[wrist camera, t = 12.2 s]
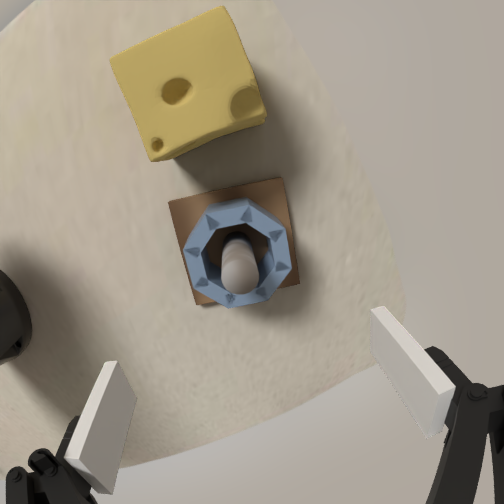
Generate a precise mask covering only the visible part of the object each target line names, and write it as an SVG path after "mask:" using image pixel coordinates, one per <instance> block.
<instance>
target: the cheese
mask: <svg viewBox="0 0 504 504" xmlns="http://www.w3.org/2000/svg"><path fill="white" fill-rule="evenodd" d="M110 64H111V67H112V70H113V72H114V75H115V77H116V80H117V82H118V84H119V86H120V88H121V91H122V93H123V95H124V97H125V99H126V101H127V104H128V106H129V108H130V110H131V113H132V115H133V117H134V120H135V122H136V125H137V127H138V130H139V133H140V135H141V138H142V141H143V144H144V147H145V149H146V152H147V154H148V157H149V159H150V161H151V162H159V161H164V160H170V159H172V158H175V157H177V156H179V155H181V154H184V153H186V152H188V151H190V150H192V149H194V148H196V147H199V146H201V145H203V144H205V143H207V142H209V141H211V140H213V139H215V138H218V137H221V136H223V135H226V134H230V133H233V132H236V131H239V130H242V129H245V128H249V127H253V126H257V125H261V124H263V123H264V122H265V119H264V118H265V117H266V116H267V112H266V109H265V106H264V104H263V101H262V99H261V95H260V92H259V88H258V85H257V81H256V78H255V75H254V72H253V70H252V67H251V65H250V62H249V60H248V58H247V55H246V53H245V50H244V48H243V45H242V43H241V40H240V37H239V35H238V32H237V30H236V27H235V25H234V23H233V21H232V19H231V17H230V15H229V13H228V12H227V10H226V8H225V7H224V6H219V7H216V8H214V9H212V10H209V11H207V12H205V13H203V14H201V15H199V16H196V17H194V18H192V19H190V20H188V21H186V22H184V23H182V24H180V25H177V26H175V27H173V28H170V29H168V30H166V31H164V32H161V33H159V34H157V35H155V36H153V37H151V38H149V39H147V40H145V41H142V42H140V43H139V44H136V45H134V46H132V47H130V48H128V49H126V50H124V51H123V52H121V53H119V54H117V55H115V56H113V57H111V58H110Z"/></svg>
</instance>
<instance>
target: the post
mask: <svg viewBox="0 0 504 504" xmlns="http://www.w3.org/2000/svg"><path fill="white" fill-rule="evenodd" d="M243 197H247V198H249V199H250V200H252V201H253V202H255V203H256V204H258V205H259V206H261V207H262V208H264V209H265V210H267V211H268V212H270V213H271V214H273V215H274V216H276V217H277V218H278V219H279V221H280V222H281V223H282V225H283V226H284V228H285V229H286V235H287V241H288V248H289V254H290V260H291V267H292V269H291V270H290V272H289V273H288V274H287V276H286V277H285V278H284V280H283V281H282V282H281V284H280V285H279V286H278V288H283V287H288V286H292V285H297V284H300V280H299V274H298V267H297V261H296V255H295V248H294V242H293V236H292V230H291V224H290V218H289V212H288V206H287V201H286V195H285V189H284V184H283V178H281V177H279V178H274V179H269V180H263V181H258V182H253V183H248V184H244V185H239V186H234V187H229V188H225V189H220V190H215V191H211V192H207V193H202V194H198V195H193V196H189V197H185V198H181V199H177V200H172V201H169V202H168V204H169V208H170V212H171V216H172V220H173V224H174V228H175V232H176V235H177V239H178V243H179V247H180V250H181V254H182V258H183V261H184V265H185V268H186V272H187V275H188V279H189V282H190V286H191V289H192V292H193V296H194V299H195V302H196V305H201V304H206V303H211V302H216V301H214V300H213V299H211V298H209V297H207V296H206V295H204V294H202V293H200V292H199V291H197V290H195V289H194V288H193V285H192V281H191V278H190V274H189V270H188V267H187V263H186V259H185V256H184V252H183V249H184V246H185V244H186V242H187V239H188V237H189V235H190V233H191V232H192V230H193V229H194V227H195V225H196V224H197V222H198V221H199V219H200V218H201V216H202V214H203V213H204V211H205V210H206V208H207V207H208V205H209V204H214V203H219V202H223V201H228V200H233V199H238V198H243ZM206 248H207V252H208V256H209V260H210V262H212V263H213V264H215V265H217V266H218V267H220V268H222V273H221V279H222V283H223V285H224V287H225V288H226V289H227V290H228V291H229V292H231V293H233V294H238V295H242V294H247V293H249V292H251V291H252V290H253V289H254V288H255V287H256V286H257V284H258V281H259V272H258V269H257V265H258V263H259V262H260V261H261V259H262V258H263V256H264V255H265V254H266V252H267V251H268V244H267V239H266V236H265V235H264V234H262V233H261V232H259V231H258V230H256V229H255V228H253V227H251V226H250V225H248V224H247V223H242V224H237V225H233V226H228V227H223V228H218V229H216V230H215V232H214V233H213V235H212V236H211V238H210V239H209V241H208V242H207V244H206ZM278 288H277V289H278Z"/></svg>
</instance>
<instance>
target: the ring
mask: <svg viewBox="0 0 504 504" xmlns="http://www.w3.org/2000/svg"><path fill="white" fill-rule="evenodd" d="M242 223H247V224H248V225H250V226H251V227H253V228H255V229H256V230H258V231H259V232H261V233H262V234H264V235H265V236H266V239H267V244H268V251H267V252H266V254H265V255H264V256H263V258H262V259H261V261H260V262H259V263H258V265H257V269H258V272H259V281H258V284H257V286H256V287H255V288H254V289H253V290H252V291H251V292H249V293H247V294H242V295H238V294H233V293H231V292H229V291H228V290H227V289H226V288H225V287H224V285H223V283H222V279H221V273H222V268H220V267H218V266H217V265H215V264H213V263H212V262H210V260H209V256H208V252H207V248H206V244H207V242H208V241H209V239H210V238H211V236H212V235H213V233H214V232H215V230H216V229H218V228H223V227H228V226H233V225H237V224H242ZM183 252H184V256H185V259H186V263H187V267H188V270H189V274H190V278H191V281H192V285H193V288H194V289H195V290H197V291H199V292H200V293H202V294H204V295H206V296H207V297H209V298H211V299H213V300H214V301H216V302H218V303H220V304H221V305H223V306H225V307H227V308H233V307H238V306H243V305H248V304H253V303H258V302H263V301H267V300H269V298H270V297H271V296H272V294H273V293H274V292H275V290H276V289H277V288H278V286H279V285H280V284H281V282H282V281H283V280H284V278H285V277H286V276H287V274H288V273H289V272H290V270H291V269H292V267H291V260H290V254H289V248H288V241H287V235H286V229H285V228H284V226H283V225H282V223H281V222H280V221H279V219H278V218H277V217H276V216H274V215H273V214H271V213H270V212H268V211H267V210H265V209H264V208H262V207H261V206H259V205H258V204H256V203H255V202H253V201H252V200H250V199H249V198H247V197H243V198H238V199H233V200H228V201H223V202H219V203H214V204H209V205H208V207H207V208H206V210H205V211H204V213H203V214H202V216H201V218H200V219H199V221H198V222H197V224H196V225H195V227H194V229H193V230H192V232H191V233H190V235H189V237H188V239H187V242H186V244H185V246H184V249H183Z"/></svg>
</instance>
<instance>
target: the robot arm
mask: <svg viewBox="0 0 504 504" xmlns="http://www.w3.org/2000/svg"><path fill="white" fill-rule="evenodd" d="M31 332H32V331H31V320H30V316H29V312H28V310H27V307H26V304H25V302H24V300H23V298H22V296H21V294H20V293H19V291H18V289H17V288H16V287H15V285H14V284H13V283H12V281H11V280H10V279H9V278H8V277H7V276H6V275H5V274H4V273H3V272H2V271H0V365H2V364H4V363H6V362H8V361H10V360H13V359H15V358H16V357H18V356H19V355H20V354H21V353H22V352H23V351H24V349H25V348H26V347H27V346H28V344H29V342H30V339H31ZM370 352H371V354H372V355H373V357H374V358H375V360H376V361H377V363H378V364H379V366H380V367H381V369H382V370H383V372H384V373H385V375H386V376H387V378H388V379H389V381H390V382H391V384H392V385H393V387H394V389H395V390H396V392H397V393H398V395H399V396H400V398H401V399H402V401H403V403H404V404H405V406H406V407H407V409H408V410H409V412H410V413H411V415H412V417H413V418H414V420H415V421H416V423H417V425H418V426H419V428H420V429H421V431H422V433H423V434H424V436H425V437H426V439H427V438H429V437H431V436H433V435H436V434H437V433H440V432H441V431H442V429H443V426H444V423H445V424H446V426H447V427H448V429H449V430H448V433H447V435H446V438H445V441H444V443H445V445H444V448H443V452H442V456H441V459H440V463H439V466H438V469H437V473H436V476H435V479H434V482H433V485H432V488H431V491H430V493H429V496H428V499H427V501H426V504H473V501H474V498H475V494H476V490H477V486H478V481H479V477H480V472H481V467H482V462H483V456H484V450H485V444H486V437H487V434H488V433H489V436H490V444H491V452H492V463H493V475H494V493H495V504H504V385H501V386H497V387H492V388H487V387H486V386H485V385H483V384H479V383H472V382H471V381H470V380H469V379H468V378H467V377H466V376H465V375H464V374H463V372H462V371H461V370H460V369H459V368H458V367H457V366H456V365H455V364H454V363H453V361H452V360H451V359H449V357H448V356H447V355H446V354H445V353H444V352H443V351H442V350H440V349H438V348H436V347H434V346H432V347H429V348H427V349H423V348H422V347H421V346H420V345H419V344H418V343H417V342H416V340H415V339H414V338H413V337H412V336H411V335H410V334H409V333H408V332H407V331H406V329H405V328H404V327H403V326H402V325H401V324H400V323H399V322H398V321H397V319H396V318H395V317H394V316H393V315H392V314H391V313H390V312H389V311H388V310H387V309H386V308H385V307H384V306H380V307H377V308H373V309H370ZM136 400H137V397H136V395H135V393H134V392H133V390H132V388H131V386H130V384H129V382H128V380H127V378H126V376H125V375H124V373H123V371H122V369H121V367H120V365H119V363H118V361H108V362H105V363H104V365H103V368H102V370H101V372H100V374H99V376H98V378H97V380H96V383H95V385H94V387H93V389H92V391H91V394H90V396H89V398H88V400H87V403H86V405H85V407H84V410H83V412H82V414H81V416H75V417H74V419H73V420H72V421H71V422H70V423H69V425H68V427H67V430H66V433H65V434H64V437H63V438H64V439H62V441H61V444H60V446H59V449H58V451H57V453H56V456H54V455H53V454H52V453H51V452H50V451H49V450H48V449H45V448H41V449H38V450H36V451H34V452H33V453H32V454H31V455H30V457H29V459H28V466H29V467H30V468H31V469H32V470H33V471H34V472H31V473H28V472H27V471H26V470H25V469H24V468H23V467H20V466H18V467H14V468H12V469H11V470H10V471H9V472H8V474H7V476H6V504H97V502H96V500H95V498H94V497H93V495H92V494H91V493H90V490H91V487H92V488H93V489H94V490H95V491H96V492H98V493H101V494H113V490H114V486H115V482H116V477H117V473H118V469H119V465H120V461H121V457H122V452H123V449H124V445H125V441H126V437H127V433H128V429H129V425H130V422H131V418H132V414H133V411H134V407H135V404H136Z"/></svg>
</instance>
